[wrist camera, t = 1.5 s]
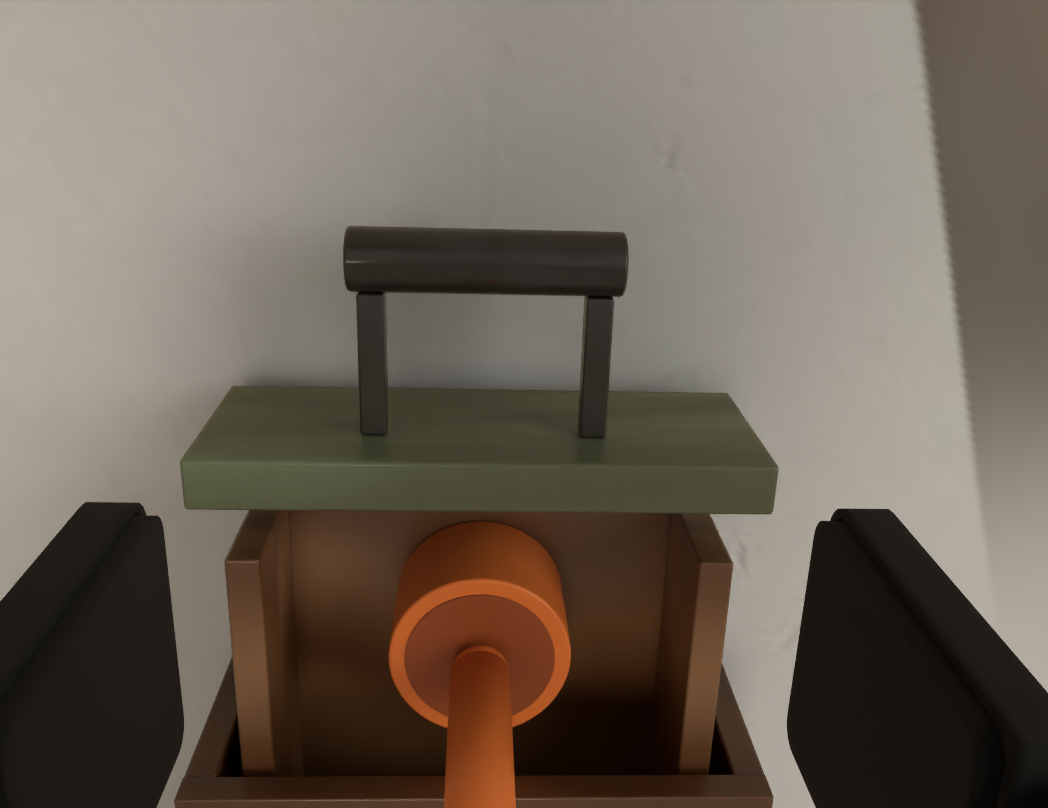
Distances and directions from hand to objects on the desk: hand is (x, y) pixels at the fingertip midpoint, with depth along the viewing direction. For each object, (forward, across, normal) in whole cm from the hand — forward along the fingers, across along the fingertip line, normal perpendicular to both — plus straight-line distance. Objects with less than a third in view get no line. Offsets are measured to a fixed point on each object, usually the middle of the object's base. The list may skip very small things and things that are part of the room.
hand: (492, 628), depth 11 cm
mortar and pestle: (+14, 0, +8) cm, 16 cm away
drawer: (+15, 0, +7) cm, 16 cm away
